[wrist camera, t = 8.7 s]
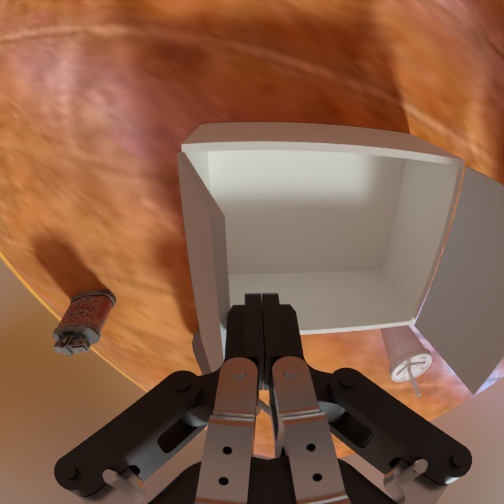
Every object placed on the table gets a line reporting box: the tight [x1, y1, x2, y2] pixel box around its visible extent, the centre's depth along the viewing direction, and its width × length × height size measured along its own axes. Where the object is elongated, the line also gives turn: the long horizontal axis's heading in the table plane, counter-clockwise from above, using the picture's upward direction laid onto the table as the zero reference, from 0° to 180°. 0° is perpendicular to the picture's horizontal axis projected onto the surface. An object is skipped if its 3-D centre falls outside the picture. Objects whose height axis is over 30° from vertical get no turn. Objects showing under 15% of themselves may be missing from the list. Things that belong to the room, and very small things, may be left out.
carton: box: [181, 122, 465, 335], centre depth 28 cm, size 22×18×10 cm
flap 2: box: [414, 167, 504, 395], centre depth 19 cm, size 10×17×1 cm
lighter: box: [53, 290, 116, 356], centre depth 35 cm, size 8×3×10 cm, turn 104°
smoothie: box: [381, 325, 432, 397], centre depth 36 cm, size 6×6×14 cm
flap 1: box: [177, 152, 230, 372], centre depth 19 cm, size 10×17×1 cm
